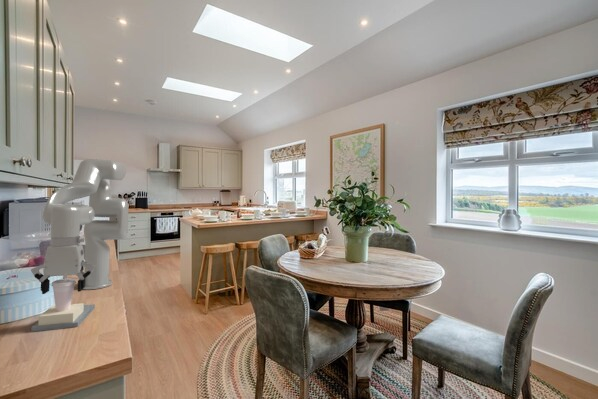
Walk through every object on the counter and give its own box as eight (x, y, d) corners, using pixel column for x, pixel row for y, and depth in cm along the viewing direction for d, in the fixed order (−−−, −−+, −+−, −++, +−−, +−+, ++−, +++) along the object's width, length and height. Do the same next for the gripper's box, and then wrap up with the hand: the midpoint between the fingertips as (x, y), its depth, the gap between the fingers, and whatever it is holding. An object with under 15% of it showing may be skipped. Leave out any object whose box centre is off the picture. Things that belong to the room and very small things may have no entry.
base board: (55, 311, 101) (56, 299, 101) (94, 308, 105) (94, 296, 105) (31, 331, 86) (31, 317, 86) (77, 326, 90) (78, 313, 90)
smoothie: (60, 314, 89) (62, 271, 89) (45, 311, 90) (46, 270, 90) (80, 306, 95) (81, 267, 95) (65, 304, 97) (66, 265, 96)
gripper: (99, 239, 99) (97, 286, 99) (39, 240, 93) (37, 290, 93) (91, 243, 92) (89, 293, 92) (26, 244, 86) (24, 297, 86)
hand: (63, 291), depth 93 cm, fingers open, 9 cm apart
